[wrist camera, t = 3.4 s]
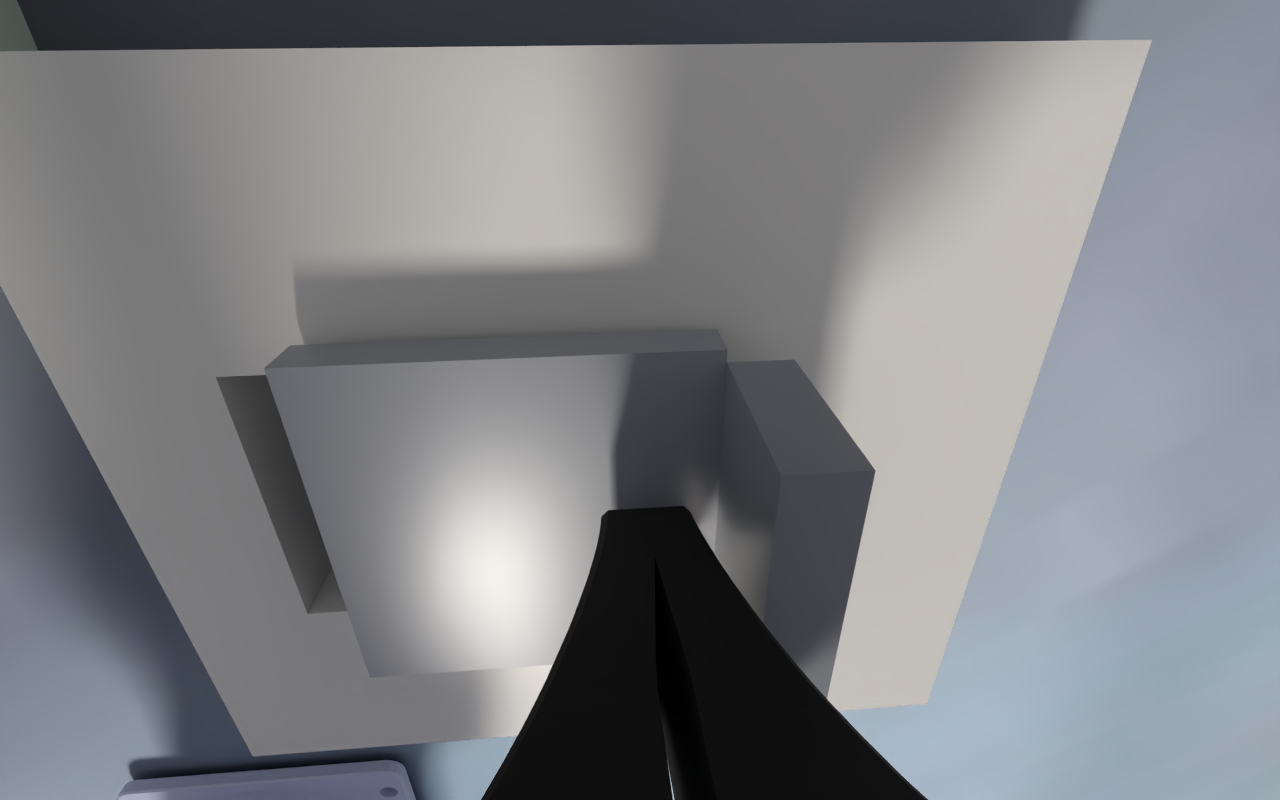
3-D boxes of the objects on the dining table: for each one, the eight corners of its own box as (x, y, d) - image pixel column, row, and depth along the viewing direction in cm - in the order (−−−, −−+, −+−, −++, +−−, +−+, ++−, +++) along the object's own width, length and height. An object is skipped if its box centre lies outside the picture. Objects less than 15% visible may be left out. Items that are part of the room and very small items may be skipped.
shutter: (749, 617, 12) (804, 803, 9) (382, 642, 12) (308, 845, 9) (780, 326, 9) (878, 454, 6) (289, 346, 9) (122, 493, 6)
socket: (884, 625, 17) (927, 703, 15) (297, 666, 16) (253, 756, 14) (1035, 47, 10) (1151, 39, 8) (39, 58, 9) (-126, 52, 7)
